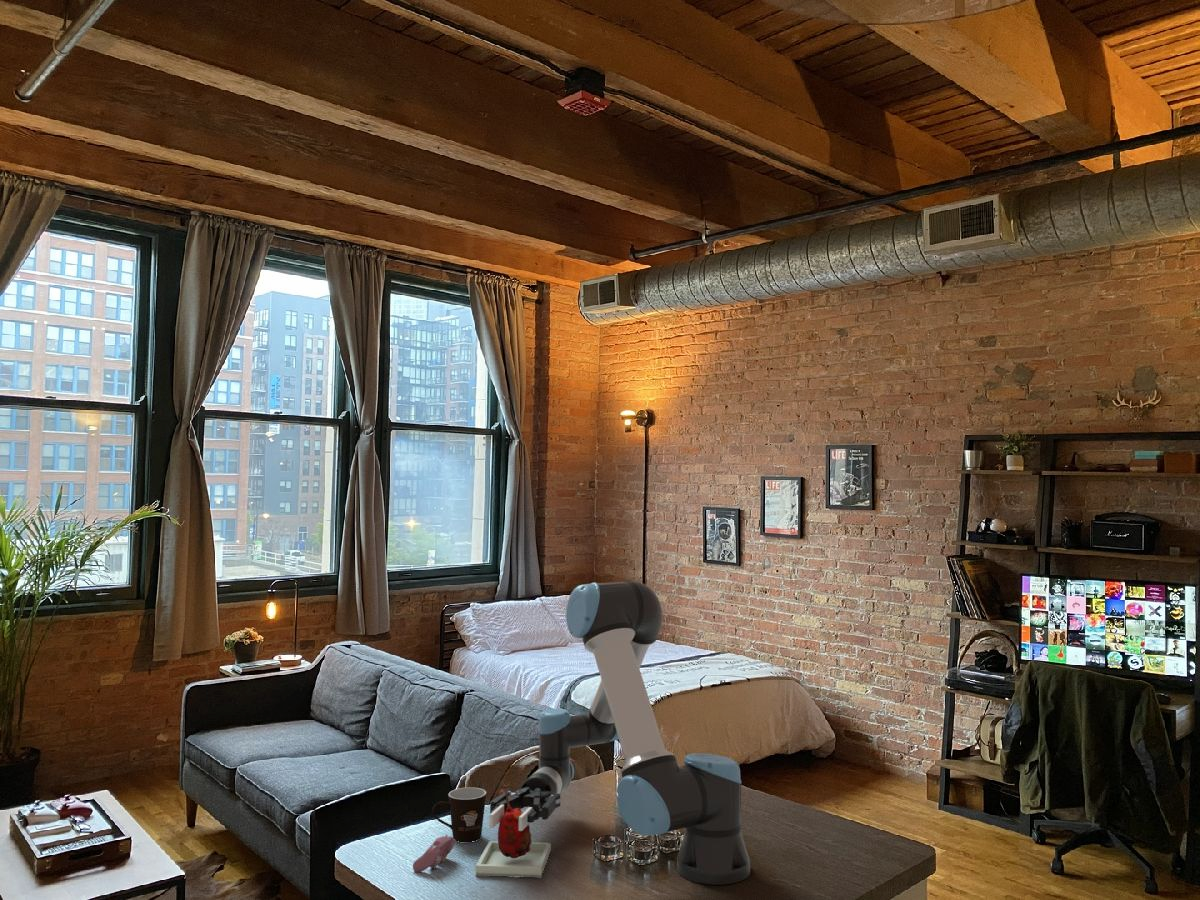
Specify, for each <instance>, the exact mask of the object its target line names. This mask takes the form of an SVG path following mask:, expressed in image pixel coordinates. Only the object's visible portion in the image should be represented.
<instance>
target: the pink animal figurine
mask: <svg viewBox="0 0 1200 900" xmlns="http://www.w3.org/2000/svg"><path fill="white" fill-rule="evenodd" d="M456 843H457V842H456V840H455V839H454V838H453V836H448V834H445V835H444V836H439V837H437V838H435V840H433V843H432V844H431V845H430V846H429V847H428V848H427V849H426V851H425V852H424V853H423V854H422V855H421V856H420V857H418V858H417V859H415V861H413V864H412V869H413V871H414V872H416V873H421V872H423V871H425V870H427V869H428V868H430V869H432V870H434V869H436V868H437V866H438V864H442V863H443V862H444V861H446V860H447V856H448V855H449V854H450V853H451V851H452V850H453V848H454V847H455V845H456ZM441 862H442V863H441ZM433 868H434V869H433Z"/></svg>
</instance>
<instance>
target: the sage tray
mask: <svg viewBox="0 0 1200 900" xmlns="http://www.w3.org/2000/svg"><path fill="white" fill-rule="evenodd" d="M551 845H552V844H551V842H539V841H538V842H536V841H535V842H533V841H532V842H531V845H530V851H529V852H527V853H526V854H525V855H523V856H520V857H518V858H510V856H509V857H506V856H504V855H503V854H502V853H501V851H500V849H499V844H498V840H497V841H496V840H489V841H488V842H487V844H486V846H485V848H484V850H483V852H482V853H481V856H480V857H479V859H478V860H477V863H476V864H475V877H489V876H509V877H508V878H515V877H514V876H520V877H521V876H523V877H541V876H542V877H543V875H542V873H543V874H544V872H545V869H544V868H546V867H545V865H546V866H547V864H548V861H549V858H548V857H550V856H549V854H550V855H551V853H550V852H551V851H552V849H551V848H552V847H551ZM547 860H548V861H547ZM546 863H547V864H546ZM543 871H544V872H543ZM510 876H512V877H510ZM542 877H541V878H542Z"/></svg>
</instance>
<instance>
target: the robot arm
mask: <svg viewBox="0 0 1200 900" xmlns="http://www.w3.org/2000/svg"><path fill="white" fill-rule="evenodd" d="M662 608H663V607H662V605H661V601H660V599H659V597H658V596H657V594H656V592H655V591H654V590H653V589H652V588H650V586H648V585H646V584H645V583H642V582H639V581H637V580H635V581H634V580H627V581H617V582H615V581H614V582H591V583H585V584H580V585H577V586H576V587H575V588H573V590H572V592H571V593H570V595H569V597H568V599H567V604H566V611H565V614H566V615H565V618H566V626H567V630H568V631H569V633H570V635H572V637H574V638H577V639H582V643H583V646H584V649H585V651H588V652H589V653H591V654H593V656H594V659H595V662H596V666H597V669H598V673H599V676H600V677H599V678H600V683H599V685H598V687H597V690H596V692H595V696H594V698H593V701H592V702H591V705H590V708H589V711H588V713H582V714H577V715H571V712H570V711H569V710H567V709H564V708H549V709H544V710H543V711H541V713H540V714H539V721H538V745H539V747H538V750H539V751H538V753H539V754H538V769H537V770H536V771H535V772H533V773H532V774H531V775H530V776H529V777H528V778H527V779H525V781H524V782H523V783H522V785H521V787H520V789H517V790H516V791H514V792H512V791H510V789H508V788H506V791H507V796H508V797H509V800H508V802H509V805H510V807H511V808H512V809H513V810H514V809H515V808H519V809H520V810H522V809H524V808H526V810H524V811H523V812H524V813H523V814H522V815H520V816H519V831H523V829H524V828H525V827H526V826H527V825H528V824H529V825H530V823H531V824H532V823H534V822H535V821H537V820H540V819H539V818H541V819H542V820H544V821H545V820H548V819H549V818H550V816H551V815H552V814H553V812H554V811H555V810H556V809H557V808H559V807H561V793H562V792H563V791H564V790H565V789H566V788H568V787H569V785H570V783H571V782H572V780H573V779H574V776H575V767H574V765H573V762H572V760H570V758H571V749H574V748H579V747H585V746H592V745H593V746H594V745H598V744H599V745H600V744H607V743H610V742H614V741H617V740H618V741H619V744H620V748H621V752H622V755H623V757H624V764H623V766H622V769H621V770H620V773H621V777H622V778H621V779H620V780H619V782H618V784H617V787H616V793H617V795H616V802H617V807H618V810H619V813H620V815H621V817H622V819H623V821H624V822H625V823H626V825H627V826H628V827H629V828H630V830H632V831H634V832H635V834H638V835H640V836H643V837H645V836H646V837H648V836H649V837H650V836H655V835H656V836H657V835H658V836H660V835H664V834H665V833H668V832H672V831H676V830H677V831H678V830H681V829H684V834H683V836H682V841H681V844H680V847H679V850H678V853H677V856H676V869H677V870H676V871H677V873H679V875H681V877H683V878H685V879H687V880H690V881H692V882H695V883H697V884H698V883H699V884H704V885H706V884H707V885H715V886H716V885H719V886H721V885H732V884H736V883H739V882H742V881H745V880H746V879H747V878H748V877H749V876H750V874H751V859H750V856H749V853H748V850H747V847H746V844H745V841H744V838H743V834H742V807H741V806H742V802H741V801H742V782H743V781H742V779H741V769H740V765H739V764H738V763H737V761H735V760H733V759H732V758H729V757H726V756H723V755H722V756H721V755H718V754H711V753H706V752H705V753H702V752H699V753H697V752H693V753H688V754H686V755H685V756H684V760H683V763H684V765H680V766H679V764H678V762H677V759H676V755H675V754H674V753H672V752H670V751H669V750H667V749H666V747H665V744H664V742H663V739H662V738H663V737H662V735H661V732H660V729H659V726H658V722H657V719H656V717H655V714H654V710H653V707H652V704H651V701H650V697H649V695H648V691H647V689H646V685H645V682H644V679H643V675H642V672H641V669H640V668H641V666H642V664H643V662H644V658H645V657H646V655H647V654H646V653H647V652H648V649H649V647H650V646H651V645H654V644H655V643H656V641H657V639H658V637H659V634H660V632H661V628H662V623H663V609H662ZM489 805H490V806H489V809H490V811H489V828H490V829H494V828H495V827H496V826H497V825H499V823H500V821H501V819H502V817H503V815H504V814H505V812H506V809H507V808H508V803H507V801H506V793H505V791H503V794H499V795H498V796H496V797H495V798H494V799H492V800H491V801H490V802H489Z"/></svg>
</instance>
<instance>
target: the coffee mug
mask: <svg viewBox="0 0 1200 900" xmlns="http://www.w3.org/2000/svg"><path fill="white" fill-rule="evenodd" d="M447 795H448V802H446V801H443V800H441V801H438V802H436V803H435V804H434V805H433V806H432V810H431V812H432V816H433V817H434V819H435V820H437V821H438V822H439V823H441V824H443V825H444V826H446V827H448V828H450V830H452V831H451V833H452V838H454V839H455V840H456V841H459V842H472V841H476V840H478V839H480V838H481V839H482V833H483V832H482V831H483V824H484V816H485V815H484V814H485V808H486V799H487V791H486V790H485V789H483V788H480V787H460V788H454V790H451V791H449V793H448V794H447ZM440 805H444V806H446V808H447V810H448V811H449V813H450V821H451V824H449V823H448V822H446V821H444V820H442V819H440V818H439V817H438V816H437V815H436V813H435V811H436V808H437V807H438V806H440ZM481 839H480V840H481ZM478 841H479V840H478ZM476 842H477V841H476ZM472 843H473V842H472Z"/></svg>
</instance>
